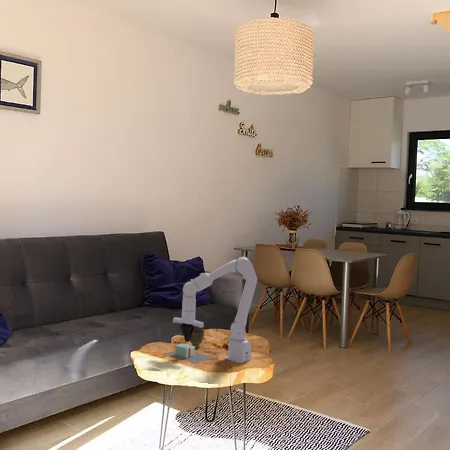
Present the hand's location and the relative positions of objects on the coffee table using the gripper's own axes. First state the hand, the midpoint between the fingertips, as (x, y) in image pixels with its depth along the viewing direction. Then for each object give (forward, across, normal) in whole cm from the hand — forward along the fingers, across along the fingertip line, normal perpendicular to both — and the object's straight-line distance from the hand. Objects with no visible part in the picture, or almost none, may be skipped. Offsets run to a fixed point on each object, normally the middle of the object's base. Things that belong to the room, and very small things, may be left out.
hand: (187, 341), depth 234 cm
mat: (+7, -1, -1) cm, 7 cm away
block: (+4, -2, 0) cm, 5 cm away
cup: (+7, +5, -15) cm, 17 cm away
